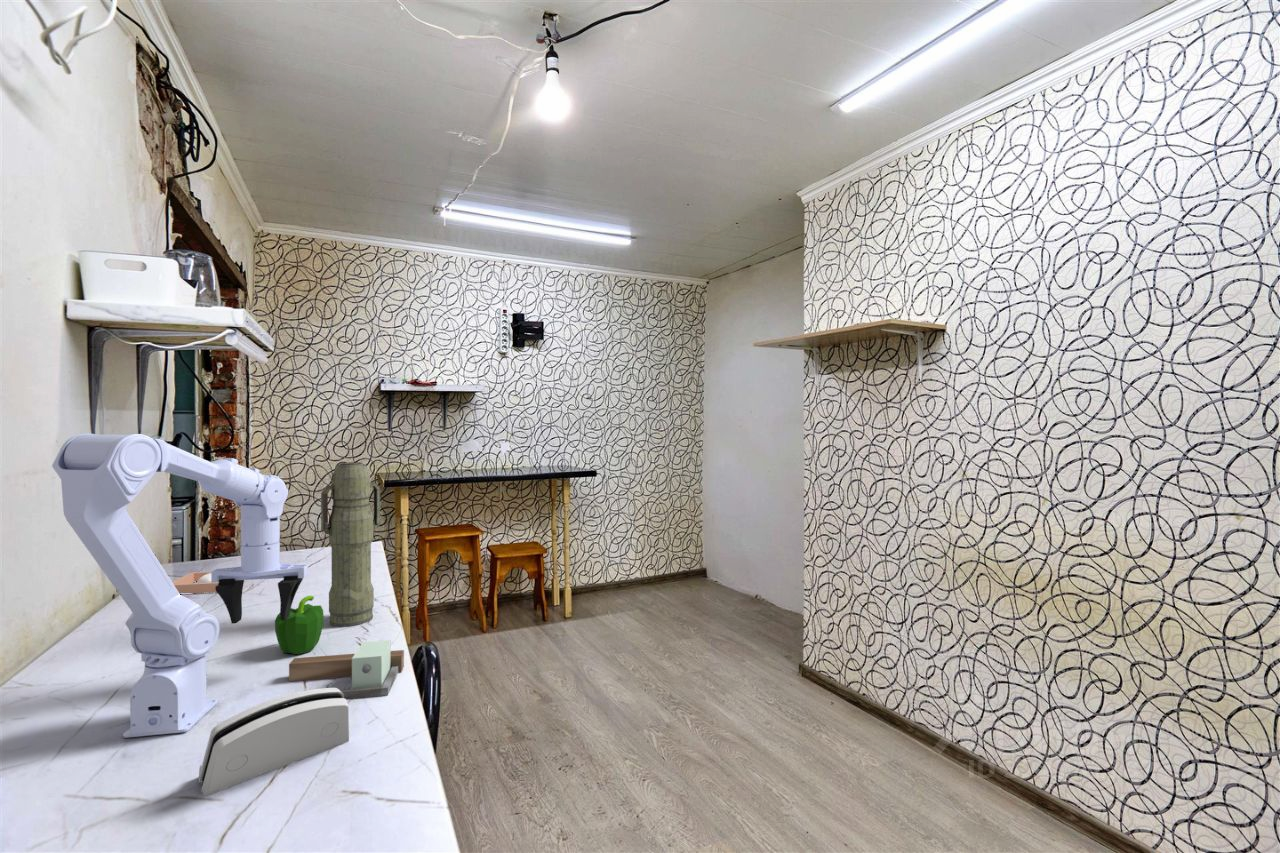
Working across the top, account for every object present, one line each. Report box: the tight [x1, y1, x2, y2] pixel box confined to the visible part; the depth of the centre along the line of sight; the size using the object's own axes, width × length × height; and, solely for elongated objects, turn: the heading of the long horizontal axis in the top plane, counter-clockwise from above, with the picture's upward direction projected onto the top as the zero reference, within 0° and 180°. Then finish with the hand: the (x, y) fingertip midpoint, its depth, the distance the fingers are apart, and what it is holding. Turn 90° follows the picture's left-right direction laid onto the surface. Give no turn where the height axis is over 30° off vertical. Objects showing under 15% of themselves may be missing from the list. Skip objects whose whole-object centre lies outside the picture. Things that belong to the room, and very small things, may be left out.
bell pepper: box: [274, 595, 324, 655], centre depth 112 cm, size 8×8×10 cm
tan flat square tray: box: [172, 571, 219, 593], centre depth 154 cm, size 13×14×2 cm
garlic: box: [197, 573, 211, 583], centre depth 155 cm, size 8×7×4 cm
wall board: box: [288, 649, 405, 700], centre depth 98 cm, size 11×18×3 cm, turn 102°
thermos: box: [320, 461, 381, 628], centre depth 129 cm, size 9×12×35 cm
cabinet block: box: [351, 639, 391, 689], centre depth 98 cm, size 8×4×6 cm, turn 12°
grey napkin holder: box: [198, 687, 350, 797], centre depth 76 cm, size 17×5×10 cm, turn 137°
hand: (260, 620), depth 102 cm, fingers open, 7 cm apart
